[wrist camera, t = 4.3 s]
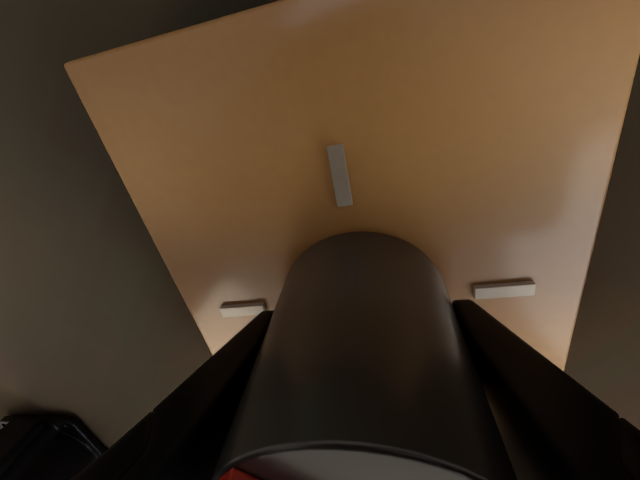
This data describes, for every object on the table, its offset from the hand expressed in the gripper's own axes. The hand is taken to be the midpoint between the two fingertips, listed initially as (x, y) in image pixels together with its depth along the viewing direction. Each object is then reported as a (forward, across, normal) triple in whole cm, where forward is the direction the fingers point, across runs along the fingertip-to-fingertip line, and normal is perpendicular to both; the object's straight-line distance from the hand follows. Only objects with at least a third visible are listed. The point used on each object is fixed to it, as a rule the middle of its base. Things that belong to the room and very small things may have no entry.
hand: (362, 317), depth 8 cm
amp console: (+4, 0, 0) cm, 4 cm away
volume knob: (+1, 0, 0) cm, 1 cm away
